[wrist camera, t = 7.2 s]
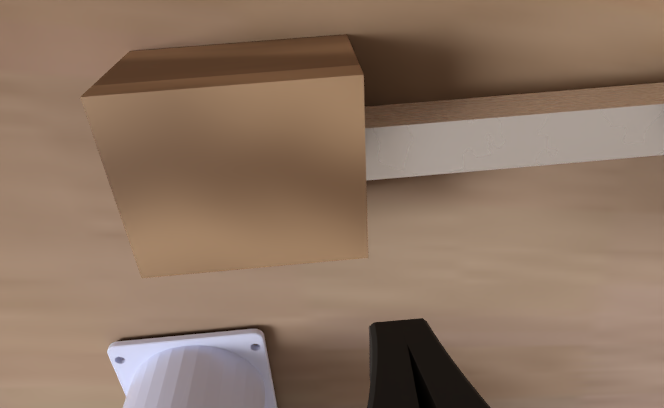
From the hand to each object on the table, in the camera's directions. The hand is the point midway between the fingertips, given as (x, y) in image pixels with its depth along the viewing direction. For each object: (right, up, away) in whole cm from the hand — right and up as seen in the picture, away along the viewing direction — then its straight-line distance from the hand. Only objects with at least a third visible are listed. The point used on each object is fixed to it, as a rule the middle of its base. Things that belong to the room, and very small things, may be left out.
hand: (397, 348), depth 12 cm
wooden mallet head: (-5, +7, +8) cm, 11 cm away
